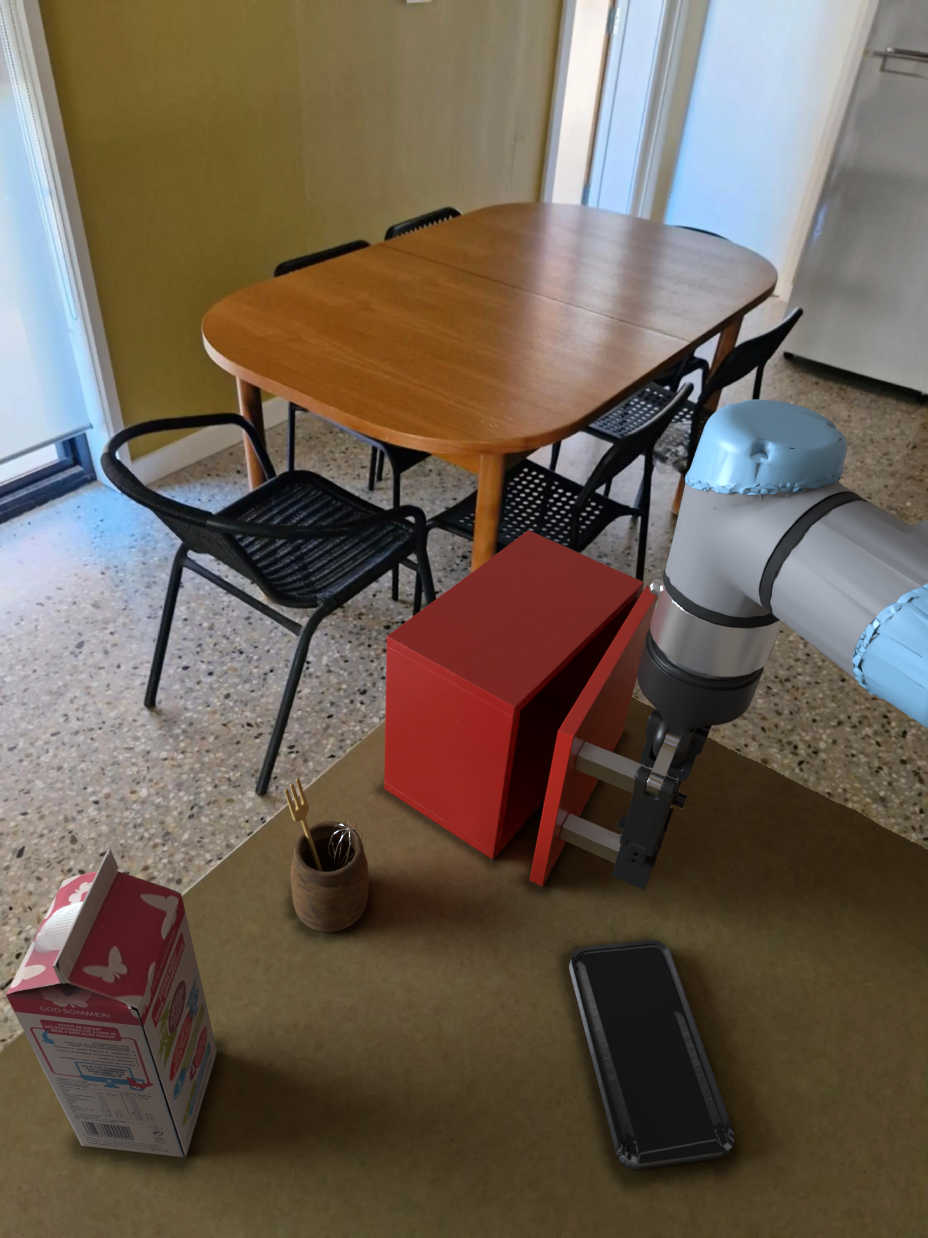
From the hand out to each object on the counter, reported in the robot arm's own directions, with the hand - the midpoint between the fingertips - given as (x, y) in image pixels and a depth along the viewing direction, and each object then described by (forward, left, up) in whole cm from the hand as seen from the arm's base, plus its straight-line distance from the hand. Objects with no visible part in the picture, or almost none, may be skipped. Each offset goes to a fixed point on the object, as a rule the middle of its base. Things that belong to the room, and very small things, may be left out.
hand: (634, 868), depth 71 cm
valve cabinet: (+17, -1, -3) cm, 18 cm away
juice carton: (+7, +37, -4) cm, 38 cm away
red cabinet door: (+6, -5, -3) cm, 9 cm away
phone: (-10, +8, -3) cm, 13 cm away
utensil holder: (+13, +20, -4) cm, 24 cm away
